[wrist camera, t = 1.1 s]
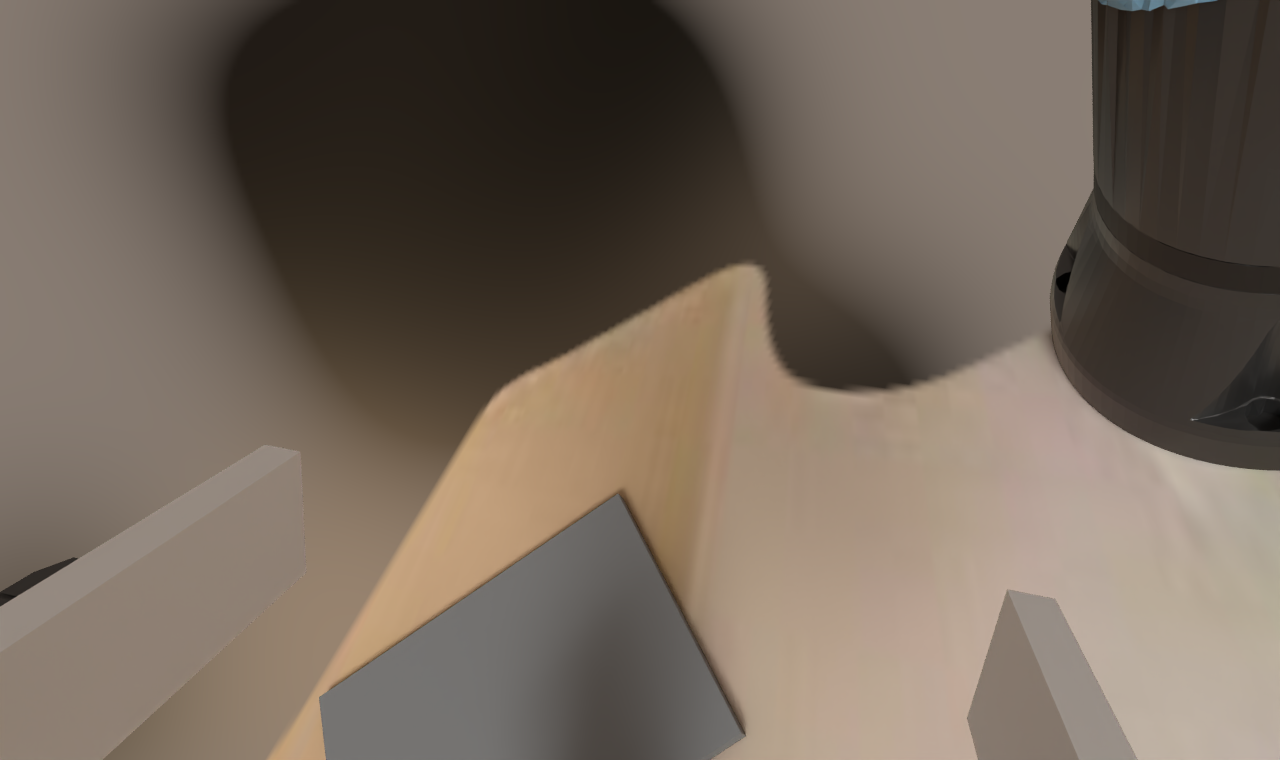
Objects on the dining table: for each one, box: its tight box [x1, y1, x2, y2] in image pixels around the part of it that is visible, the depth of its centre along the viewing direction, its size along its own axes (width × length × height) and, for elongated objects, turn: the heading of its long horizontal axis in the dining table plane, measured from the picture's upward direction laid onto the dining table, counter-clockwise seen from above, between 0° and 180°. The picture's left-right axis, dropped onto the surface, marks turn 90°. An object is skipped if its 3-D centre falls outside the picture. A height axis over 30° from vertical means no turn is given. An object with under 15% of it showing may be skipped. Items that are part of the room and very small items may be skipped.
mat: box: [319, 494, 745, 760], centre depth 38 cm, size 20×14×1 cm
